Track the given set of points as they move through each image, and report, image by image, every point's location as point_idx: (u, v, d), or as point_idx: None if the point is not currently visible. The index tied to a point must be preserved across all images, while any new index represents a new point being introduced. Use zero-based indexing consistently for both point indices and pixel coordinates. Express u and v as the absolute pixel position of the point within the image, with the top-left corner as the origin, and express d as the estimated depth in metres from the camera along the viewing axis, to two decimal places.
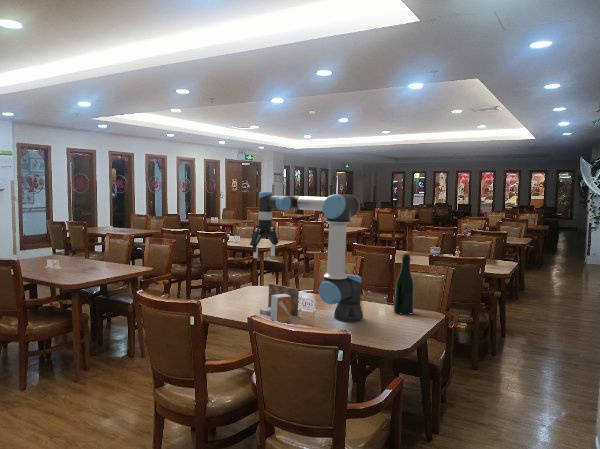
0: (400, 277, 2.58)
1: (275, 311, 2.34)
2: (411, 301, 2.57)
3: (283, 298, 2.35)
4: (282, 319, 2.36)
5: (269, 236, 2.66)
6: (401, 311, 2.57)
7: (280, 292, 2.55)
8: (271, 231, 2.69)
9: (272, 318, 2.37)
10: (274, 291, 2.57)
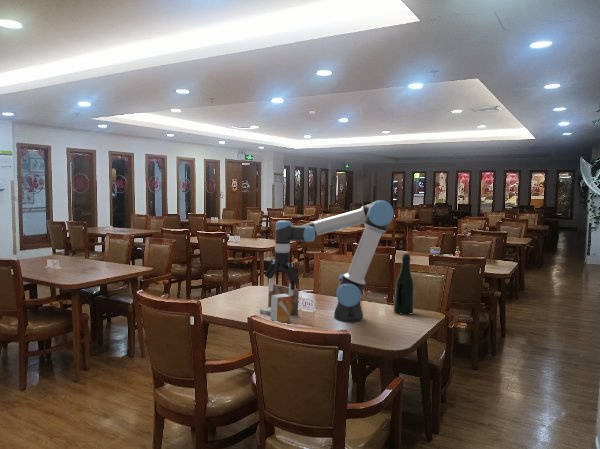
0: (400, 277, 2.58)
1: (275, 311, 2.34)
2: (411, 301, 2.57)
3: (283, 298, 2.35)
4: (282, 319, 2.36)
5: None
6: (401, 311, 2.57)
7: (280, 292, 2.55)
8: None
9: (272, 318, 2.37)
10: (274, 291, 2.57)
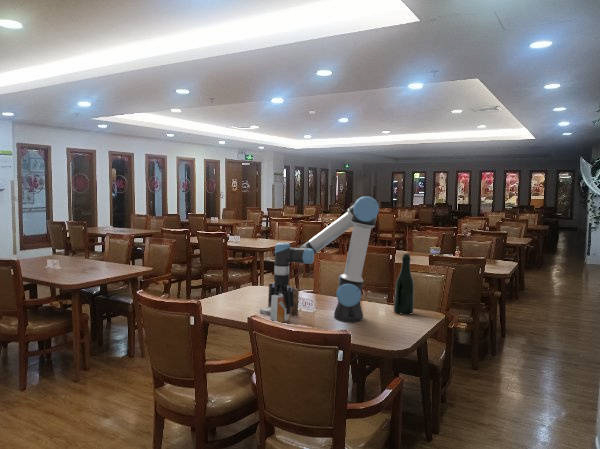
0: (400, 277, 2.58)
1: (276, 311, 2.34)
2: (411, 301, 2.57)
3: (283, 298, 2.35)
4: (282, 319, 2.36)
5: None
6: (401, 311, 2.57)
7: (280, 292, 2.55)
8: None
9: (272, 318, 2.37)
10: None
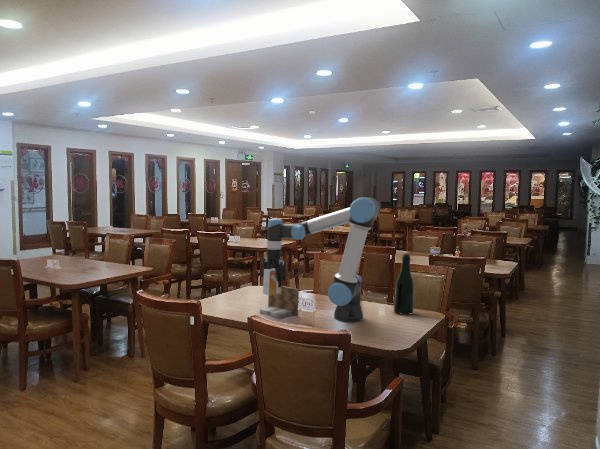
0: (400, 277, 2.58)
1: (268, 284, 2.44)
2: (411, 301, 2.57)
3: (275, 272, 2.44)
4: (274, 292, 2.45)
5: None
6: (401, 311, 2.57)
7: None
8: None
9: (264, 291, 2.47)
10: None
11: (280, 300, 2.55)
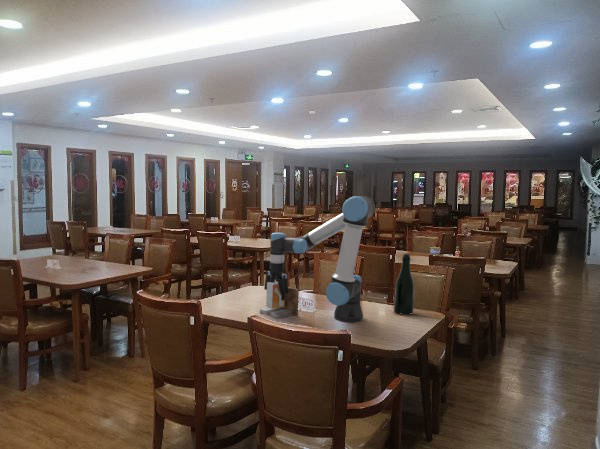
0: (400, 277, 2.58)
1: (271, 298, 2.46)
2: (411, 301, 2.57)
3: (278, 285, 2.47)
4: (277, 305, 2.47)
5: None
6: (401, 311, 2.57)
7: None
8: None
9: (268, 304, 2.49)
10: None
11: None
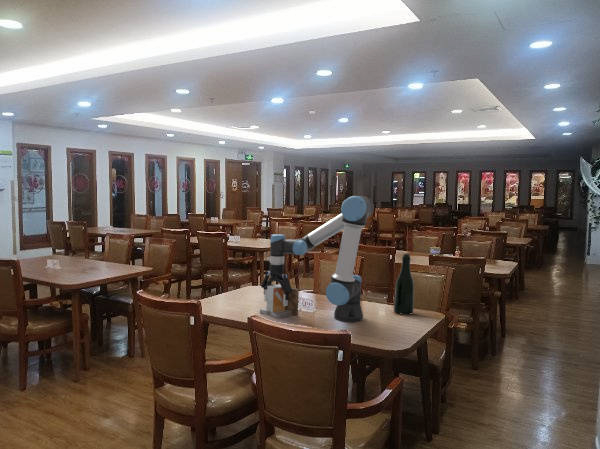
0: (400, 277, 2.58)
1: (271, 301, 2.46)
2: (411, 301, 2.57)
3: (279, 288, 2.47)
4: (278, 308, 2.47)
5: None
6: (401, 311, 2.57)
7: None
8: None
9: (268, 308, 2.49)
10: None
11: None
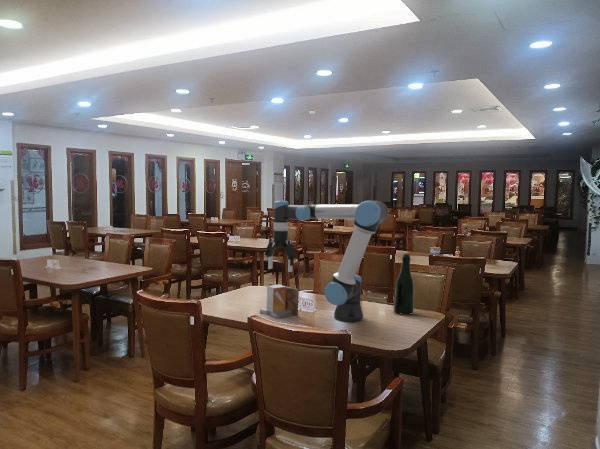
0: (400, 277, 2.58)
1: (271, 301, 2.46)
2: (411, 301, 2.57)
3: (279, 288, 2.47)
4: (278, 308, 2.47)
5: None
6: (401, 311, 2.57)
7: None
8: None
9: (268, 308, 2.49)
10: None
11: None
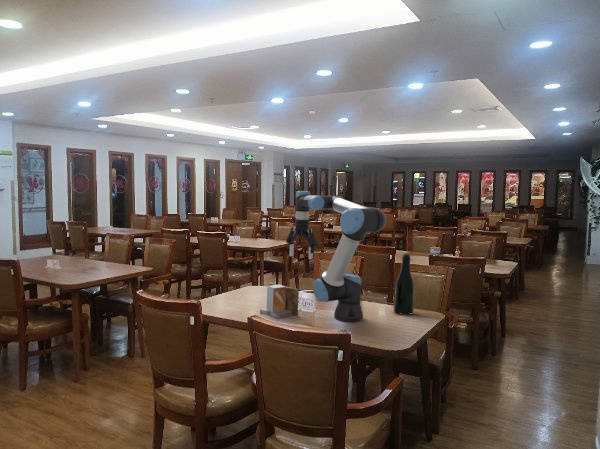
0: (400, 277, 2.58)
1: (271, 301, 2.46)
2: (411, 301, 2.57)
3: (279, 288, 2.47)
4: (278, 308, 2.47)
5: None
6: (401, 311, 2.57)
7: None
8: None
9: (268, 308, 2.49)
10: None
11: None
